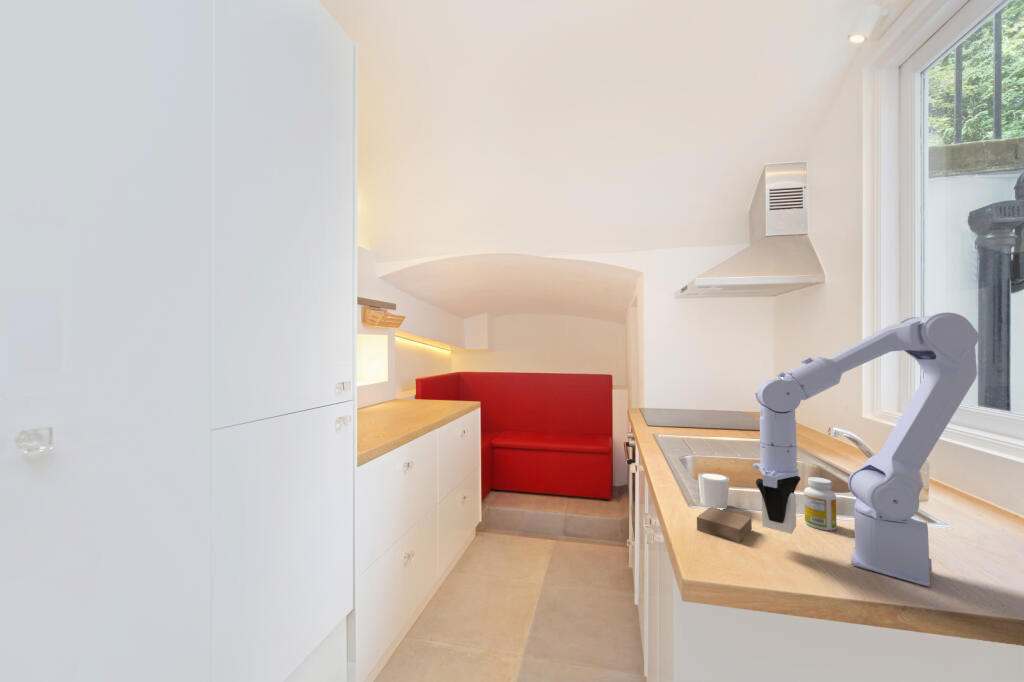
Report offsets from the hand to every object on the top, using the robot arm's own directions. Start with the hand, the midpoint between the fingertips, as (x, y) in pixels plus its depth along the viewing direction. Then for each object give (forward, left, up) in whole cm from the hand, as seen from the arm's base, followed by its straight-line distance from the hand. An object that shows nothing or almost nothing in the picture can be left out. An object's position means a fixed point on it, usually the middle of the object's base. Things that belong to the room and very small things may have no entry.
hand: (779, 517), depth 75 cm
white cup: (+16, -15, -6) cm, 23 cm away
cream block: (0, 0, -2) cm, 2 cm away
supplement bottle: (-4, -19, -6) cm, 20 cm away
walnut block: (+10, -2, -6) cm, 12 cm away
